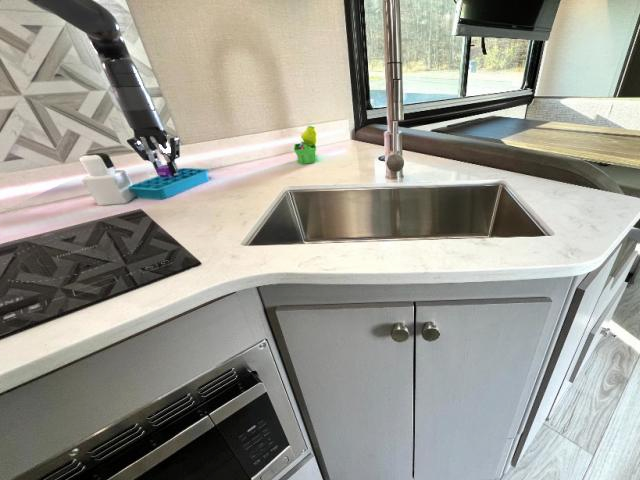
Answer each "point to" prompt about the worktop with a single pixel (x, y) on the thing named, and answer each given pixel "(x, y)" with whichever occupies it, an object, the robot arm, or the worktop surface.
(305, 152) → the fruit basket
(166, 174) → the candy
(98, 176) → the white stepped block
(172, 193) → the ice cube tray
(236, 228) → the worktop surface
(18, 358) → the worktop surface
